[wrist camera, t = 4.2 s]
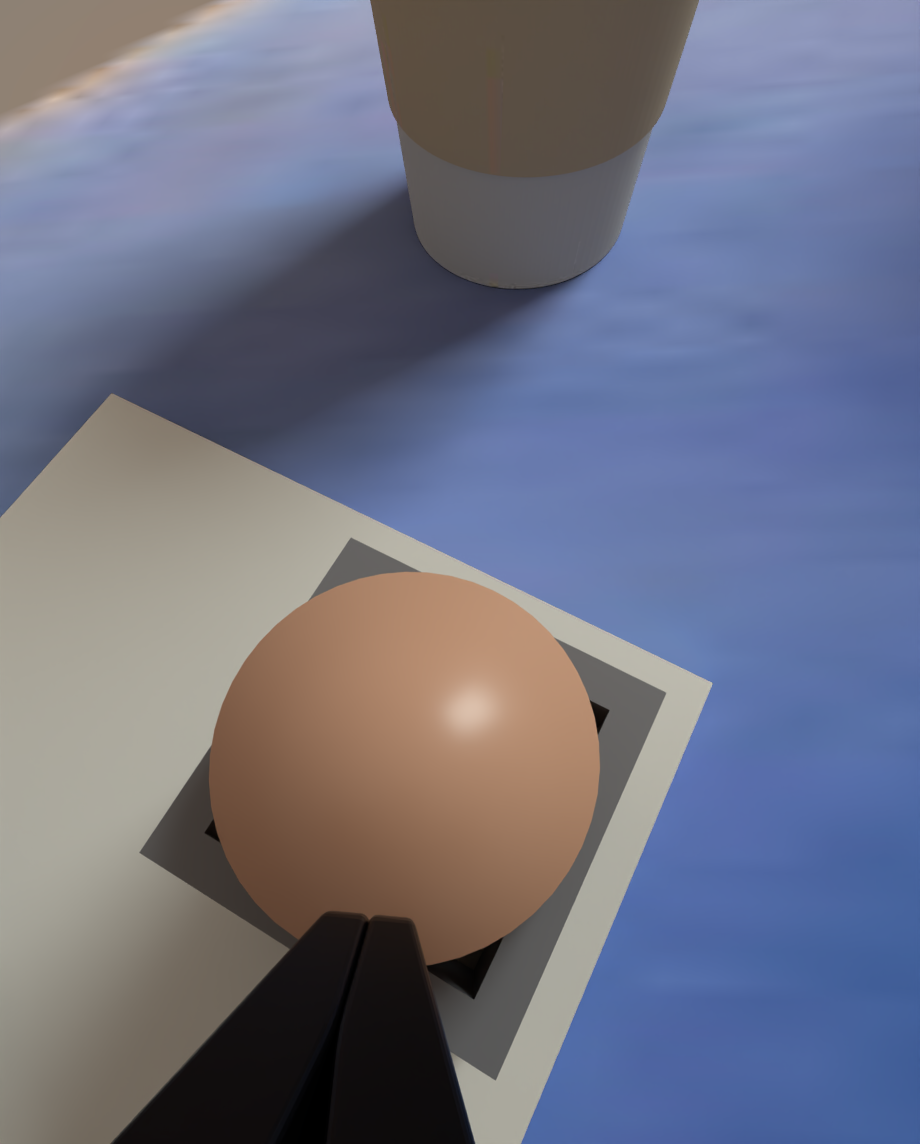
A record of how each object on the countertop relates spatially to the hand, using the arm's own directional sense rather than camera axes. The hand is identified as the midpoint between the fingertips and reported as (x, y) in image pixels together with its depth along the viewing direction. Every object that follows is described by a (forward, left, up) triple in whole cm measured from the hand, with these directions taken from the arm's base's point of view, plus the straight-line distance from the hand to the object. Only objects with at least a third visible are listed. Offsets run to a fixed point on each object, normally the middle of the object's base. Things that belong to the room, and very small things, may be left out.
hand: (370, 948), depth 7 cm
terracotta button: (+2, +1, -8) cm, 8 cm away
